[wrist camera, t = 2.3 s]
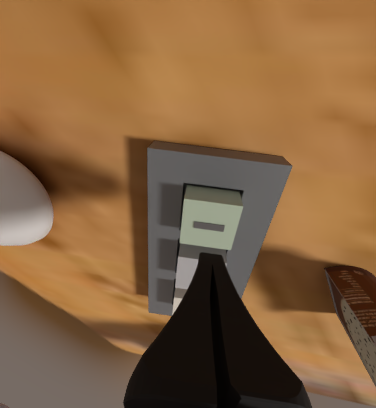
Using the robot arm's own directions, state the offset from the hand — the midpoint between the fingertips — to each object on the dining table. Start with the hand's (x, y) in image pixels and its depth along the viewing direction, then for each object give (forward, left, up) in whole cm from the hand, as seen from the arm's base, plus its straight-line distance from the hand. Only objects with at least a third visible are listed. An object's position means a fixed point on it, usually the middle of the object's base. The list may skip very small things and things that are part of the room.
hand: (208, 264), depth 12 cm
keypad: (-5, -4, -8) cm, 10 cm away
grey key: (-5, -4, -6) cm, 9 cm away
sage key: (0, 0, -6) cm, 6 cm away
